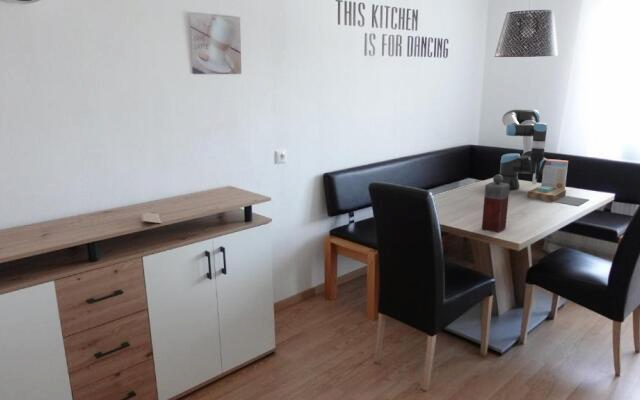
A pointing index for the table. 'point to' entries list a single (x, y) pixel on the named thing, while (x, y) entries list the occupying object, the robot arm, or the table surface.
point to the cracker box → (555, 174)
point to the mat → (571, 200)
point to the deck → (547, 194)
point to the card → (545, 188)
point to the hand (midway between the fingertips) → (534, 184)
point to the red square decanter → (495, 205)
